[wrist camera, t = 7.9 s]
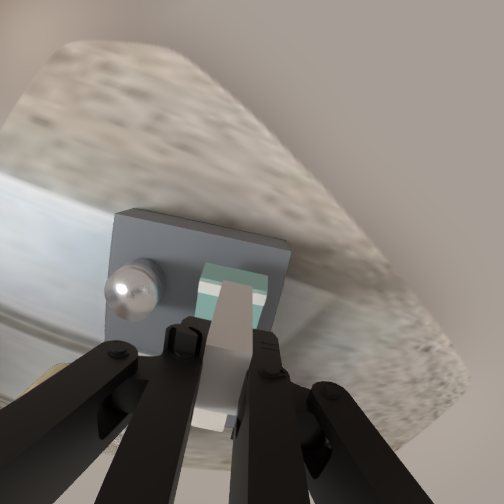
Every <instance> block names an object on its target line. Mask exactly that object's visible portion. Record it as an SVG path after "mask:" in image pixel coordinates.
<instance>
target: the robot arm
mask: <svg viewBox="0 0 504 504" xmlns="http://www.w3.org/2000/svg"><path fill="white" fill-rule="evenodd" d="M279 351H280V350H279V343H278V338H277V337H276V336H275V335H274V334H273V332H269V331H264V330H259V329H253V286H249V285H244V284H240V283H235V282H230V281H226V280H223V282H222V286H221V289H220V293H219V296H218V300H217V304H216V307H215V311H214V314H213V318H212V321H211V320H206V319H202V318H198V317H193V316H188V317H186V318H185V319H183V320H182V322H181V324H173V325H170V326H168V327H167V328H166V331H165V339H164V348H163V352H162V354H161V355H159V356H138V350H137V349H136V347H135V346H133V345H132V344H130V343H128V342H124V341H121V340H111V341H106V342H104V343H101V344H100V345H98V346H97V347H95V348H94V349H92V350H91V351H89V352H88V353H86V354H85V355H83V356H82V357H80V358H79V359H77V360H75V361H74V362H72V363H71V364H69V365H68V366H66V367H65V368H63V369H62V370H60V371H59V372H57V373H56V374H54V375H53V376H51V377H50V378H48V379H47V380H45V381H44V382H42V383H41V384H39V385H38V386H36V387H34V388H33V389H31V390H30V391H28V392H27V393H25V394H24V395H22V396H21V397H19V398H18V399H16V400H15V401H13V402H12V403H10V404H9V405H7V406H6V407H4V408H3V409H1V410H0V504H53V503H54V502H55V501H56V500H57V499H58V498H59V497H60V495H62V494H63V493H64V491H66V489H68V487H69V486H70V485H71V484H72V483H73V482H74V481H75V480H76V479H77V478H78V477H79V476H80V475H81V474H82V473H83V472H84V471H85V470H86V469H87V468H88V467H89V466H90V464H92V462H93V461H94V460H95V459H96V458H97V457H98V456H99V455H100V454H101V453H102V452H103V451H104V450H105V449H106V448H107V447H108V446H109V444H110V443H111V442H112V441H113V440H114V439H115V438H116V437H117V436H118V435H119V434H120V433H121V432H122V431H123V429H124V428H125V427H126V426H127V425H128V424H129V425H128V427H127V429H126V431H125V433H124V436H123V438H122V440H121V442H120V445H119V447H118V449H117V451H116V454H115V456H114V458H113V461H112V463H111V465H110V467H109V470H108V472H107V474H106V477H105V479H104V481H103V484H102V486H101V488H100V491H99V493H98V496H97V498H96V500H95V503H94V504H174V499H175V495H176V490H177V485H178V481H179V476H180V472H181V467H182V463H183V458H184V453H185V449H186V444H187V440H188V436H189V431H190V427H191V422H192V418H193V412H194V408H199V409H203V410H208V411H213V412H218V413H223V414H229V415H234V416H236V413H237V409H238V413H237V418H236V421H235V425H234V428H233V432H232V435H231V438H230V439H232V440H233V451H232V465H231V479H230V493H229V504H310V499H309V492H310V494H311V496H312V498H313V500H314V503H315V504H434V503H433V502H432V500H431V499H430V498H429V497H428V495H427V494H426V493H425V491H424V490H423V489H422V488H421V486H420V485H419V484H418V482H417V481H416V480H415V479H414V477H413V476H412V475H411V473H410V472H409V471H408V470H407V468H406V467H405V466H404V464H403V463H402V462H401V461H400V459H399V458H398V457H397V455H396V454H395V453H394V451H393V450H392V449H391V448H390V446H389V445H388V444H387V442H386V441H385V440H384V438H383V437H382V436H381V435H380V433H379V432H378V431H377V429H376V428H375V427H374V425H373V424H372V423H371V422H370V420H369V419H368V418H367V416H366V415H365V414H364V412H363V411H362V410H361V408H360V407H359V406H358V405H357V403H356V402H355V401H354V399H353V398H352V397H351V395H350V394H349V393H348V392H347V391H346V390H345V389H344V388H343V387H341V386H340V385H338V384H336V383H333V382H326V381H321V382H316V383H315V384H313V386H312V388H311V390H310V389H307V388H304V387H301V386H299V385H296V384H294V383H293V382H291V381H290V376H289V374H288V372H287V371H286V370H285V369H284V368H283V367H282V363H281V357H280V352H279ZM308 490H309V492H308Z"/></svg>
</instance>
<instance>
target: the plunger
mask: <svg viewBox="0 0 504 504" xmlns="http://www.w3.org/2000/svg"><path fill="white" fill-rule="evenodd" d="M165 290H166V279H165V276H164V273H163V272H162V270H161V269H160V267H159V266H158V265H157V264H155V263H154V262H152V261H151V260H148V259H144V258H137V259H133V260H131V261H130V262H128V263H127V264H125V265H124V266H123V267H121V268H120V269H119V270H117V271H116V272H115V273H113V274H112V275H111V276H110V277H109V278H108V280H107V282H106V285H105V298H106V301H107V304H108V306H109V307H110V309H111V310H112V311H113V312H114V313H115V314H116V315H117V316H118V317H120V318H122V319H124V320H127V321H140V320H143V319H145V318H146V317H148V316H149V315H150V313H151V312H152V311H153V309H154V308H155V306H156V305H157V304H158V302H159V301H160V299H161V298H162V297H163V295H164V293H165Z"/></svg>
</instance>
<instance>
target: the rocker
mask: <svg viewBox="0 0 504 504" xmlns="http://www.w3.org/2000/svg"><path fill="white" fill-rule="evenodd" d="M223 280H226V281H230V282H235V283H240V284H244V285H249V286H253V329H256V328H257V325H258V322H259V319H260V315H261V312H262V309H263V306H264V304H265V301H266V297H267V292H268V276H267V275H263V274H258V273H253V272H248V271H244V270H239V269H235V268H230V267H225V266H221V265H216V264H212V263H207V262H206V263H205V266H204V269H203V271H202V274H201V277H200V281H199V287H198V297H197V303H196V310H195V317H198V318H202V319H206V320H211V321H212V318H213V314H214V311H215V307H216V304H217V300H218V296H219V293H220V289H221V286H222V282H223Z"/></svg>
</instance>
